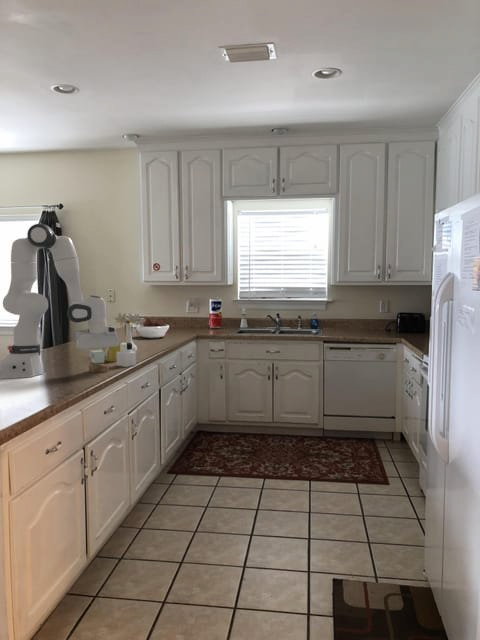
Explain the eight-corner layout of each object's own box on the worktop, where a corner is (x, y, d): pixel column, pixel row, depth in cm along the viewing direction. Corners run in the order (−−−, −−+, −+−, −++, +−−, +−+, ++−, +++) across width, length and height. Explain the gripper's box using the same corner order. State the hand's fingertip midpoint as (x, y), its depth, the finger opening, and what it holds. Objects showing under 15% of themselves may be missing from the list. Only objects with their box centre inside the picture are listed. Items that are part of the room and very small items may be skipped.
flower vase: (143, 356, 299) (143, 313, 296) (112, 355, 299) (111, 313, 297) (147, 352, 312) (147, 312, 309) (117, 352, 312) (117, 311, 309)
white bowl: (137, 336, 399) (137, 316, 397) (169, 335, 401) (169, 316, 400) (134, 340, 374) (134, 319, 373) (168, 339, 377) (168, 319, 375)
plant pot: (115, 358, 290) (115, 341, 289) (125, 360, 283) (125, 343, 282) (99, 360, 283) (99, 342, 282) (109, 362, 275) (108, 344, 275)
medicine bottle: (127, 363, 272) (127, 341, 271) (136, 365, 268) (135, 342, 267) (116, 365, 267) (116, 342, 266) (125, 367, 262) (124, 344, 261)
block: (92, 373, 245) (92, 367, 245) (89, 370, 251) (88, 364, 251) (107, 371, 249) (107, 365, 249) (103, 369, 255) (103, 363, 255)
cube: (94, 363, 248) (94, 353, 247) (90, 360, 252) (90, 350, 250) (104, 362, 250) (104, 352, 249) (100, 359, 254) (100, 349, 253)
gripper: (77, 330, 240) (78, 359, 242) (119, 328, 251) (120, 355, 252) (74, 329, 246) (75, 357, 247) (115, 327, 256) (116, 354, 257)
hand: (98, 356), depth 250 cm, fingers closed on cube, 5 cm apart
